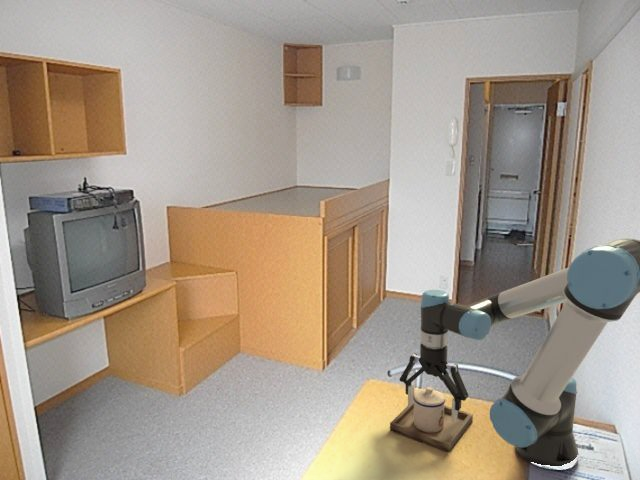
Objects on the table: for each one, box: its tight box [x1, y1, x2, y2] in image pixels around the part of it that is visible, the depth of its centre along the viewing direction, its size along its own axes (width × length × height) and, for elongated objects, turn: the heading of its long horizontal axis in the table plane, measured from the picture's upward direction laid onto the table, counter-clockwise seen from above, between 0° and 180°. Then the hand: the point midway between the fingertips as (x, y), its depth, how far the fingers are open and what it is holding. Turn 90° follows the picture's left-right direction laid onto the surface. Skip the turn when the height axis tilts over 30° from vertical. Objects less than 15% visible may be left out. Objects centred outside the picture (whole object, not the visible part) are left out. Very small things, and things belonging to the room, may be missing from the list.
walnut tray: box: [389, 404, 474, 454], centre depth 142 cm, size 18×18×2 cm
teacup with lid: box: [413, 386, 446, 433], centre depth 141 cm, size 12×9×12 cm
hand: (432, 411), depth 141 cm, fingers open, 13 cm apart
